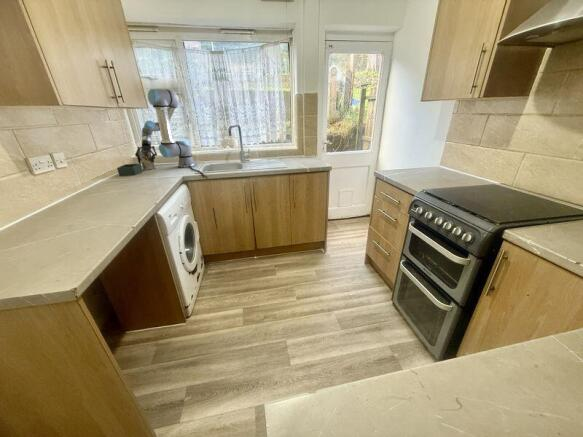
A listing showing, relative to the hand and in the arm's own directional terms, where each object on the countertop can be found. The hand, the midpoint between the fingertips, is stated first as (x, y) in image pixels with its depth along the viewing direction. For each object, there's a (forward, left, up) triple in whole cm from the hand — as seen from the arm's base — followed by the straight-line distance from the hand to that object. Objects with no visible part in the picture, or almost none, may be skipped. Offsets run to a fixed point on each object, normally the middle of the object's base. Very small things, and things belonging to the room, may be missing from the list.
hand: (146, 162), depth 220 cm
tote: (-4, +15, -7) cm, 17 cm away
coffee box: (+2, -2, -7) cm, 7 cm away
